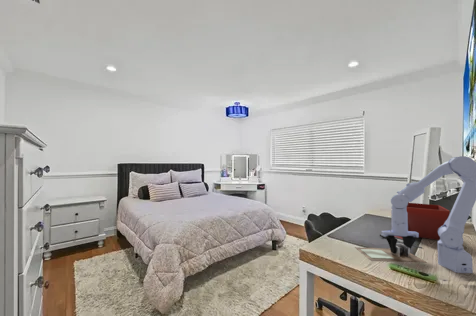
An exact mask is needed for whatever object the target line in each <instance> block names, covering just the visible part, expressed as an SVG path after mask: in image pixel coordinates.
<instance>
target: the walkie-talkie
mask: <svg viewBox="0 0 476 316" xmlns="http://www.w3.org/2000/svg"><path fill="white" fill-rule="evenodd" d="M379 237H381V238H382V239H383V240H384V239H385V240H387V239H386V238H385V237H384V236H382V235H381V234H379ZM394 237H395V238H396V239H397V243H399V244H404V243H403V238H402V236H394ZM412 247H415V248H418V249H423V246H418V245H416V244H413V245H412Z"/></svg>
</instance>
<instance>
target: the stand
mask: <svg viewBox="0 0 476 316" xmlns="http://www.w3.org/2000/svg"><path fill="white" fill-rule="evenodd" d="M399 248H400V257H397V256H396V255H394V254H392V253H391V252H390V247H389V248H388V247H387V248H385V247H384V248H382V247H354V249H356V250H357V251H358V252H360V253H361V254H362V255H363V256H364V257H366V258H367V259H368V260H369V261H371V262H394V263H422V264H423V263H424V264H425V263H428V261H425V260H423V259H422V258H420V257H419V256H417V255H414V253H411V252H410V257H407V256H405V255H403V254H402V248H401V247H399Z"/></svg>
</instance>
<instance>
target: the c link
mask: <svg viewBox="0 0 476 316" xmlns="http://www.w3.org/2000/svg"><path fill="white" fill-rule="evenodd" d="M399 247H401V248H402V254H403V255H405V256H407V257H410V253H411V250H410V248H409V247H407V246H405V245H404V243H399V242H397V243H396V254H394V253H392V252H391V249H390V252H391V253H392V254H394V255H396V256H397V257H400V248H399Z"/></svg>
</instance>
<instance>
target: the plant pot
mask: <svg viewBox="0 0 476 316" xmlns="http://www.w3.org/2000/svg"><path fill="white" fill-rule="evenodd" d="M407 213H408V231H414V232H417V233H419V237H418V238H421V239H428V240H429V239H430V240H436V241H439V240H440V236H439V235H438V229H439V228H440V227H441V226H443V225H444V223H445V221H446V220H447V219H448V217H449V215H450V213H451V210H449V209H447V208H445V207H443V206H441V205H439V204H430V203H429V204H428V203H416V202H408V205H407Z"/></svg>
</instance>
